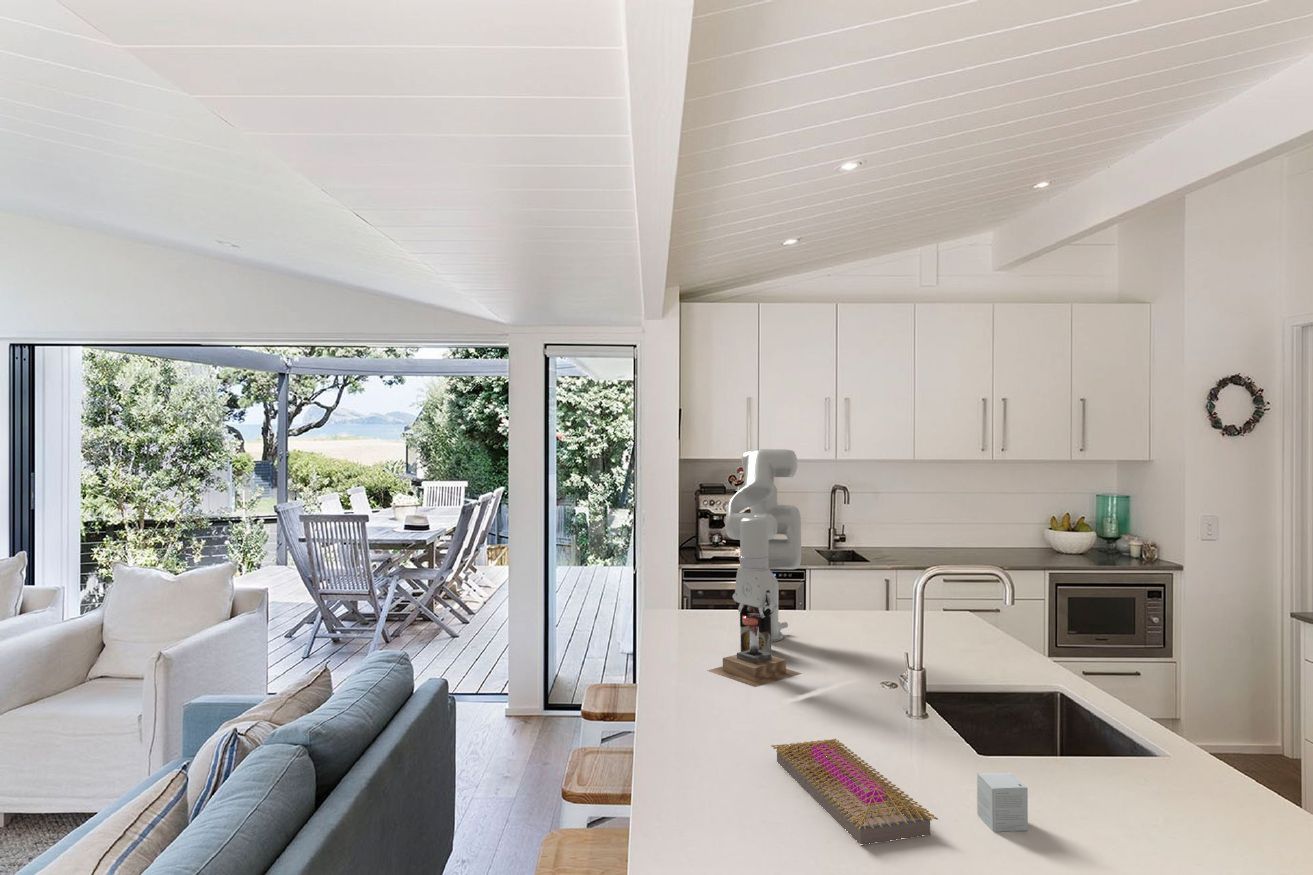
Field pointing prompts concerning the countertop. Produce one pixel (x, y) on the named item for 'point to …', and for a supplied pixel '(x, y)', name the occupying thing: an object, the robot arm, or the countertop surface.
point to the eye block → (754, 668)
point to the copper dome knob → (752, 631)
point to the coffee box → (763, 637)
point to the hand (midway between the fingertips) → (754, 628)
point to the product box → (1002, 802)
